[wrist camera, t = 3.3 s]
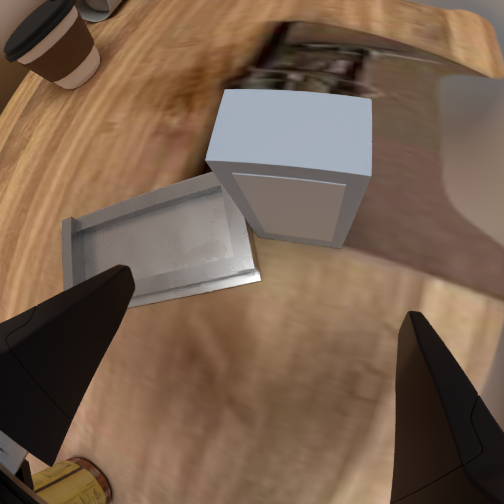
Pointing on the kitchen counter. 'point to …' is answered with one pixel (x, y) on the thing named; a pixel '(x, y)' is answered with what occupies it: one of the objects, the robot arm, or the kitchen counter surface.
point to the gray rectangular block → (294, 161)
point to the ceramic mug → (96, 9)
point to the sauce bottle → (72, 483)
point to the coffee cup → (55, 44)
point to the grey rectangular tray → (165, 242)
